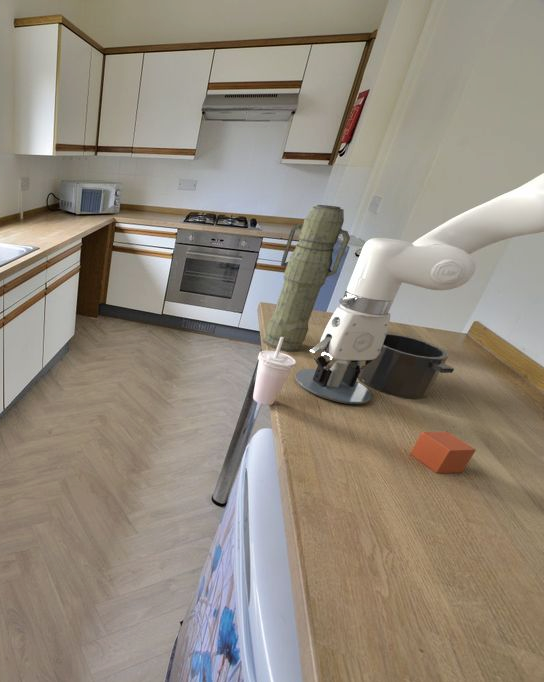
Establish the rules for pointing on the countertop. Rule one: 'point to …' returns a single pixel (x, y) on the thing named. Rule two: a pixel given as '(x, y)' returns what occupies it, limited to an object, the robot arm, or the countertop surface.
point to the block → (442, 452)
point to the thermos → (306, 275)
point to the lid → (334, 385)
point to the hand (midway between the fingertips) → (332, 382)
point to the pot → (405, 367)
